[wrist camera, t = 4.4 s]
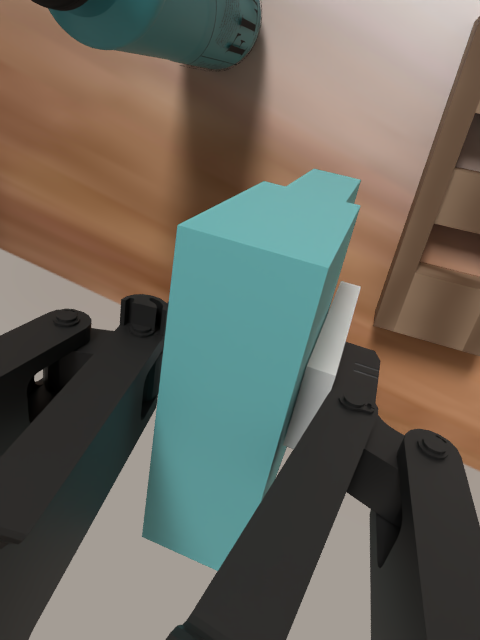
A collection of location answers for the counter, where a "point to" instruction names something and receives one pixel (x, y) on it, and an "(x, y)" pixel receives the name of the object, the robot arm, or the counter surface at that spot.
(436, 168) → the rail
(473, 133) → the counter surface
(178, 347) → the notched teal block
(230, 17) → the beverage bottle
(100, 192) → the counter surface
